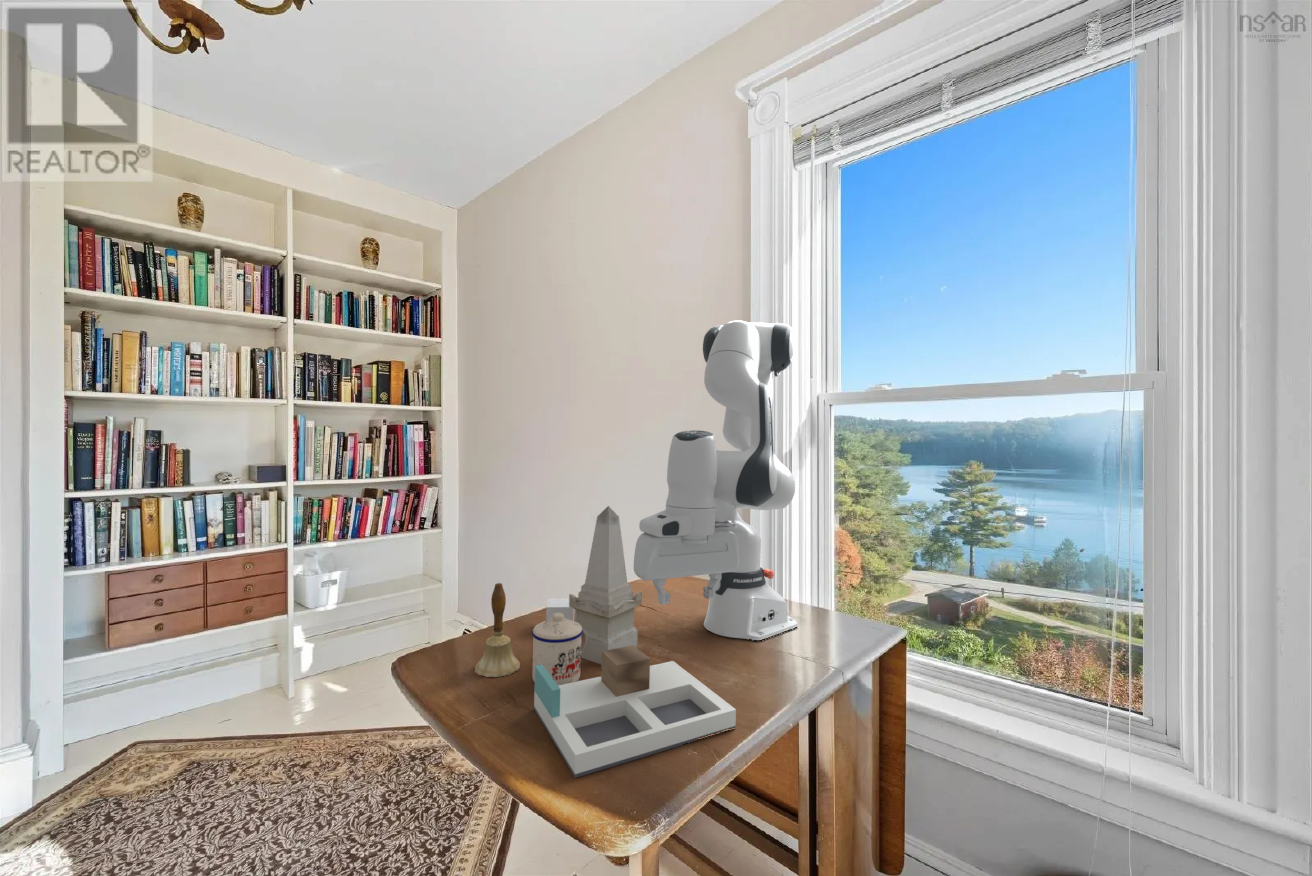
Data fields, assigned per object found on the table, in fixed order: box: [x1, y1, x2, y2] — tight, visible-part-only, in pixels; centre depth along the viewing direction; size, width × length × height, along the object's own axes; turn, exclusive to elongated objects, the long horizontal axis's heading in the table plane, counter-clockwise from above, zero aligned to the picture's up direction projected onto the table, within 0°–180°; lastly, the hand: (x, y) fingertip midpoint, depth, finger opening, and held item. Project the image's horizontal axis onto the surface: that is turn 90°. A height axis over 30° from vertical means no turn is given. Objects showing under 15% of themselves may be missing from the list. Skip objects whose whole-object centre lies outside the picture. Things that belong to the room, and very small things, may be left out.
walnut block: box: [600, 645, 651, 697], centre depth 88 cm, size 6×6×5 cm
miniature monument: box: [568, 505, 643, 666], centre depth 108 cm, size 10×10×30 cm
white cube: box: [545, 598, 575, 621], centre depth 120 cm, size 6×6×6 cm
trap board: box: [533, 660, 737, 779], centre depth 83 cm, size 26×19×7 cm
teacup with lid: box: [531, 613, 587, 685], centre depth 98 cm, size 12×9×12 cm
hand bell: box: [474, 582, 521, 678], centre depth 100 cm, size 8×8×16 cm
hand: (687, 600), depth 93 cm, fingers open, 8 cm apart
